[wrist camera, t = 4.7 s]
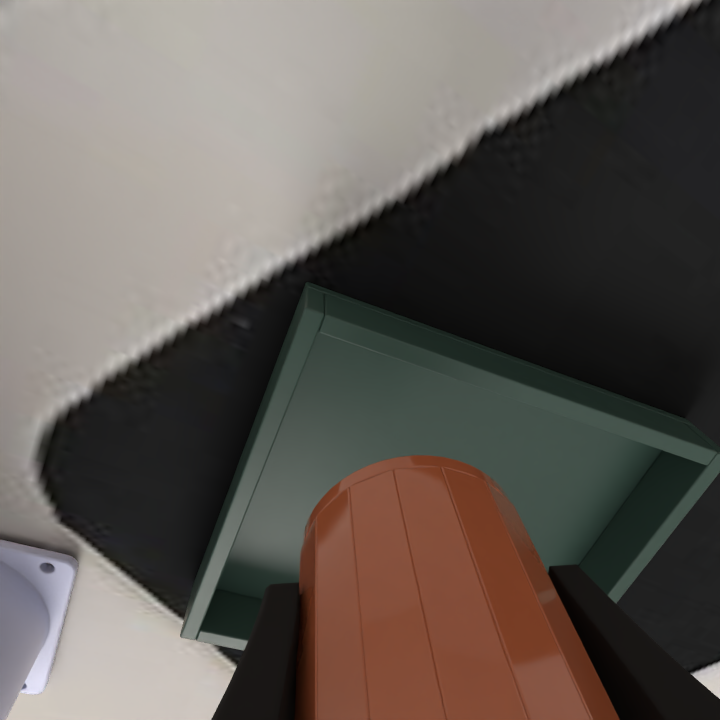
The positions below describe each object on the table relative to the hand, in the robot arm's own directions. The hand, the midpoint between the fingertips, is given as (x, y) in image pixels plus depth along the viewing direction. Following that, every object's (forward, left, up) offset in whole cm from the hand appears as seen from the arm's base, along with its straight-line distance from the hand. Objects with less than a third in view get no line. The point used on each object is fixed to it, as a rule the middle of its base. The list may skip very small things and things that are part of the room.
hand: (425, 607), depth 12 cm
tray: (+3, -3, -8) cm, 10 cm away
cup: (0, 0, -2) cm, 2 cm away
